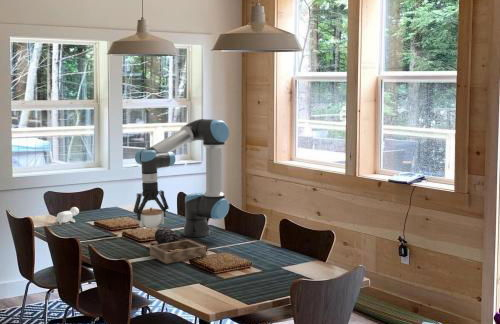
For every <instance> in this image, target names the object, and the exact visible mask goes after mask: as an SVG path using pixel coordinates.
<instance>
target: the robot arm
mask: <svg viewBox="0 0 500 324" xmlns="http://www.w3.org/2000/svg"><path fill="white" fill-rule="evenodd" d="M226 123H227V122H225V121H224V120H220V119H208V118H206V119H205V118H200V119H195V120H193V121H191V122H189V123H187V124H185V125H184V126H181V127H180V129H179V130H178V131H176V132H174V133H173V134H171V135H169V136H167V137H166V138H164V139H163V140H161V141H159V142H157V143H156V144H154V145H152V146H150V147H149V148H146V149H139V150H137V152H136V153H135V154H134V160H135V163H136V164H138V165H141V181H142V184H141V185H142V192H140V193H139V192H138V193H136V199H135V204H134V207H133V211H132V213H134V214H135V215H136V217H137V218H136V219H137V221H138V222H139V224H138V225H139V227H140V228H144V224H143V217H142V214H141V212H142V210H144V209H145V207H146V204H147V203H148V202H149V201H155V203H156V204H157V205H158V207H159V208H160V210H162V219H161V222H160V224H162V225H165V217H166V212H167V210H169V209H170V208H169V204H168V202H167V199H166V197H165V191H164V190H161V189H160V190H159V186H158V185H159V184H158V169H162V168H167V167H172V166H174V165H175V163H176V155H175V153H174V152H173V151H175V150H177V149H178V148H180V147H182V146H183V145H186V144H190V143H193V142H196V141H202V144H203V145H202V146H204V147H205V173H206V174H205V176H206V177H205V192H194V193H190V194H187V195H186V194H185V197H184V208H185V209H184V210H185V223H184V225H183V229H182V235H183V236H184V237H191V238H202V237H207V236H210V234H211V230H210V227H209V223H208V221H207V219H211V220H223V219H224V218H226V216H227V214H228V213H229V210H230V203H229V201H228V199H226V197H225V195H226V194H225V193H224V192H223V171H222V170H223V161H222V160H223V152H222V151H223V147H224V146H225V142H226V141H227V140H228V139H229V136H230V129H229V126H228V124H226ZM158 196H159V197H160V199H159V197H158ZM142 197H143V198H142ZM141 199H142V200H141ZM160 200H161V201H160Z"/></svg>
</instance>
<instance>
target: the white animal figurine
mask: <svg viewBox="0 0 500 324" xmlns="http://www.w3.org/2000/svg"><path fill="white" fill-rule="evenodd" d="M79 213H80V209H79V208H78V207H76V206H73V207H71V208H70V209H69V210H65V211H61V212H58V213H57V216H56V218H55V219H54V221H55V223H56V224H59V225H60V224H61V225H62V224H65V223H69V222H72V223H75V224H76V220H75V218H73V217H75V216H76V215H77V216H78V214H79Z"/></svg>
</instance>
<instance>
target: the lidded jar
mask: <svg viewBox="0 0 500 324" xmlns="http://www.w3.org/2000/svg"><path fill="white" fill-rule="evenodd" d="M141 214H142V217H143V226H145V227H146V228H157V227H158V226H159V225H160V224H161V223H160V222H161V219H162V210H161V208H160V209H159V208H153V207H149V208H146V209H145V208H144V209H143V210H142V212H141Z"/></svg>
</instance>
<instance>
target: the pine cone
mask: <svg viewBox="0 0 500 324" xmlns="http://www.w3.org/2000/svg"><path fill="white" fill-rule="evenodd" d="M154 239H155V241H156V242H157V244H164V243H170V242H176V241H180V237H179V236H178V234H177V233H176V232H175V231H174V230H173V229H171V228H170V227H167V226H162V227H158V228H157V230H156V231H155V232H154Z"/></svg>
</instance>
